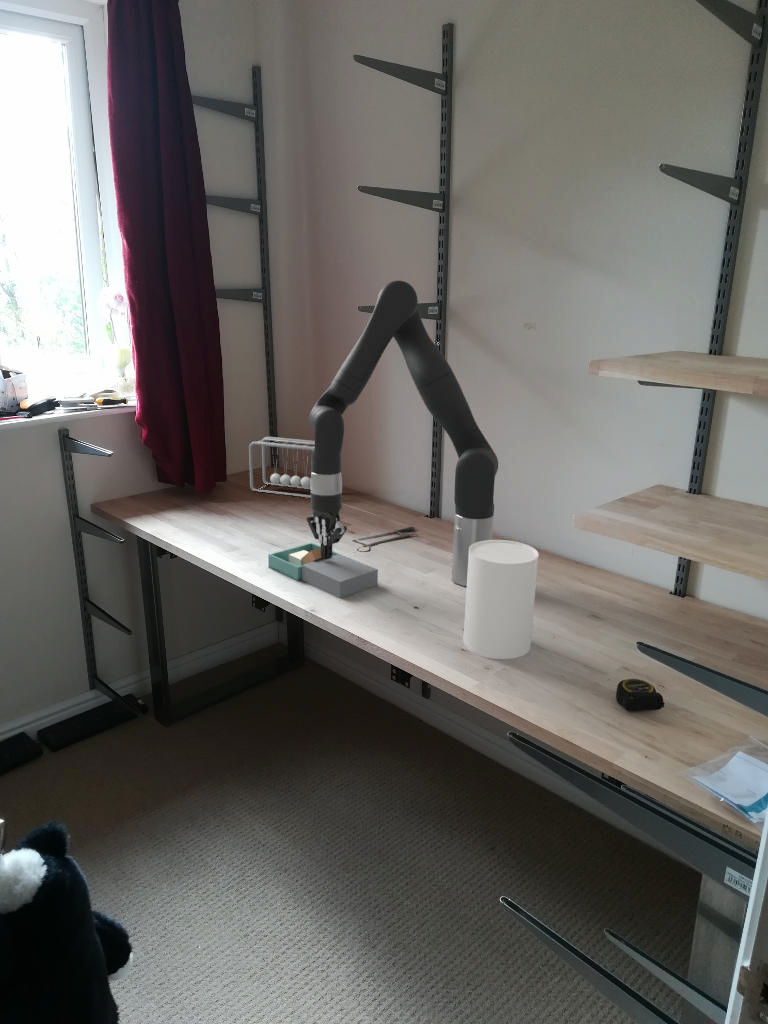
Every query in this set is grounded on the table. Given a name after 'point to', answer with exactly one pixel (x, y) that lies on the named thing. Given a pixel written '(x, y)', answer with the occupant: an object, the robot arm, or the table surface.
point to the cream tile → (297, 557)
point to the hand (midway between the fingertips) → (326, 557)
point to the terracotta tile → (312, 556)
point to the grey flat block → (339, 575)
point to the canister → (500, 598)
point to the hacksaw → (400, 532)
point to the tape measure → (638, 696)
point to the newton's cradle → (285, 478)
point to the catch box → (281, 561)
